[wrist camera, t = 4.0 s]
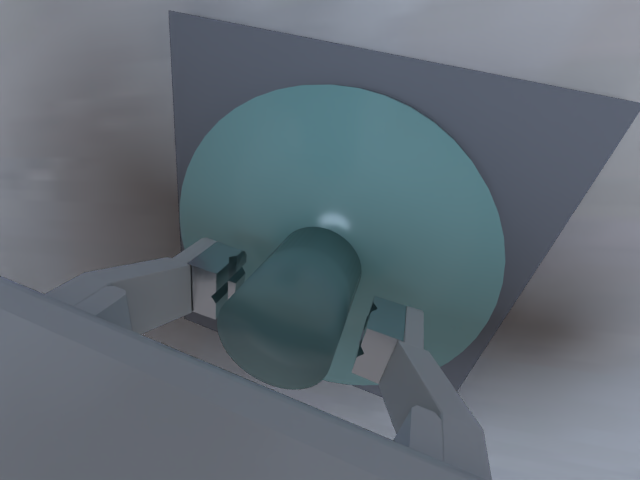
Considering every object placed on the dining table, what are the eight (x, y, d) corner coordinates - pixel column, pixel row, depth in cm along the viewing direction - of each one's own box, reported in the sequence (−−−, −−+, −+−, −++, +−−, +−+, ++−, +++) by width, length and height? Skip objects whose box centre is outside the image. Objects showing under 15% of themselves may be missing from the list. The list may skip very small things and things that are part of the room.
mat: (437, 404, 15) (438, 419, 15) (193, 309, 18) (184, 318, 17) (626, 102, 8) (644, 104, 8) (184, 15, 11) (168, 10, 10)
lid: (426, 399, 14) (425, 542, 10) (201, 312, 16) (117, 395, 12) (577, 132, 8) (748, 184, 4) (194, 52, 11) (24, 28, 6)
